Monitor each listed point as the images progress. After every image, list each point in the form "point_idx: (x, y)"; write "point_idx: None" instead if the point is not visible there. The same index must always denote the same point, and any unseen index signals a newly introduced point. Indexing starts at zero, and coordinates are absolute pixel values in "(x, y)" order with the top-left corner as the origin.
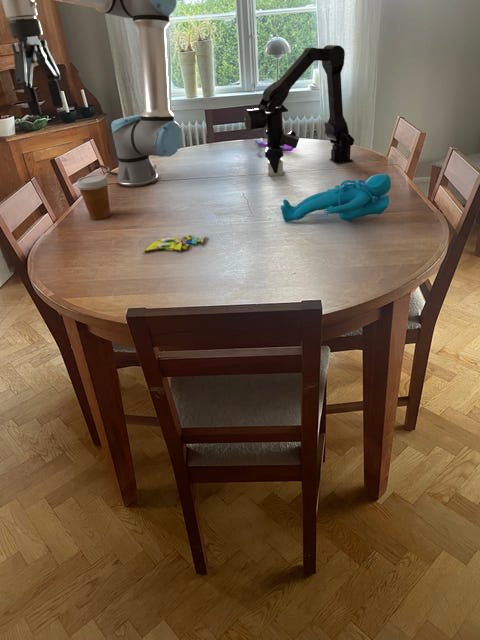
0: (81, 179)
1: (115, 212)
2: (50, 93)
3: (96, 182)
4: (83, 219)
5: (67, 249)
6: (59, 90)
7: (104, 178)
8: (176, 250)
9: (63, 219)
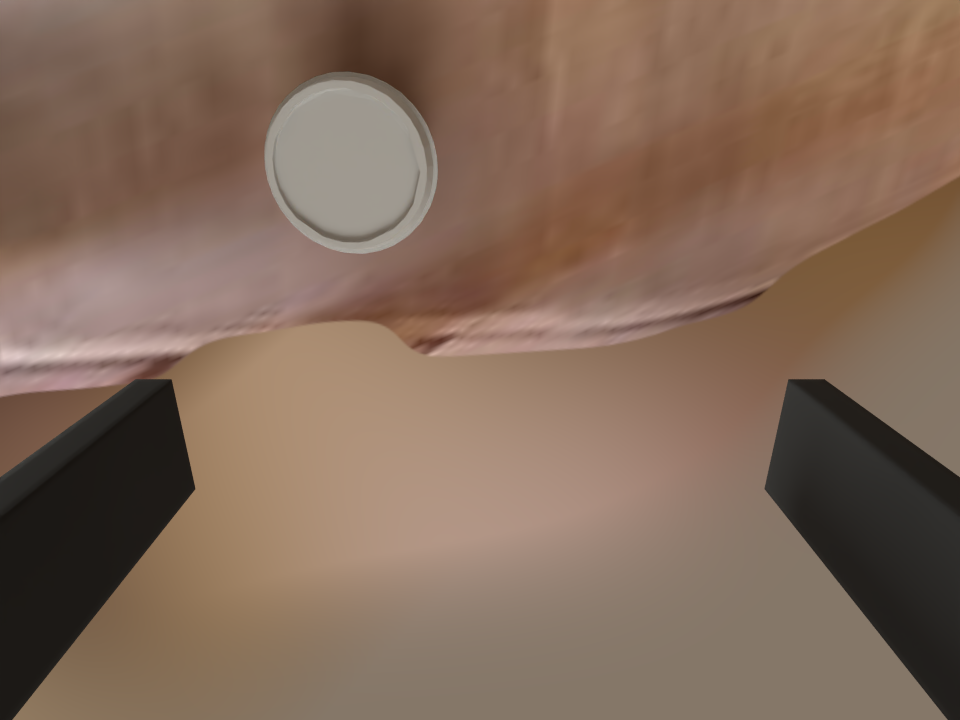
0: (337, 238)
1: None
2: (103, 599)
3: (406, 111)
4: None
5: (721, 167)
6: (6, 486)
7: (342, 80)
8: None
9: (409, 318)
